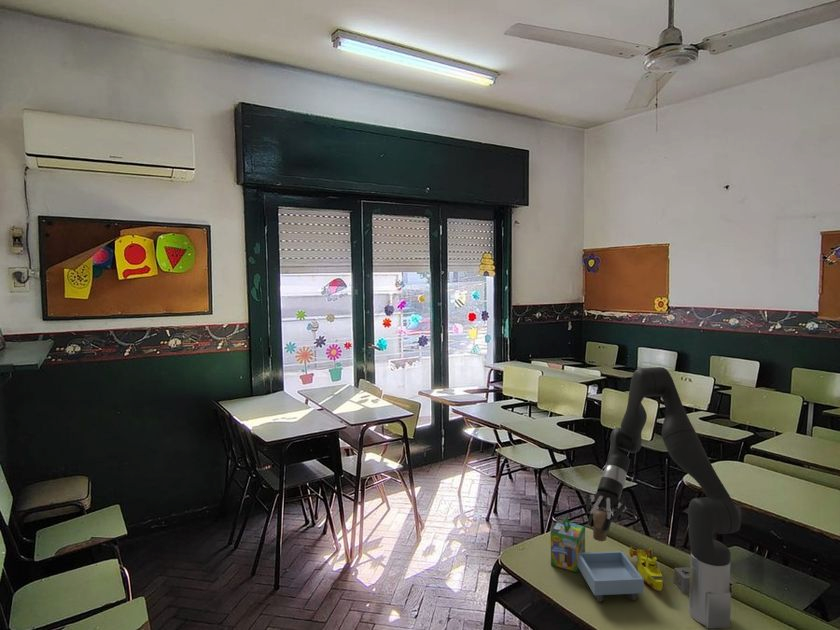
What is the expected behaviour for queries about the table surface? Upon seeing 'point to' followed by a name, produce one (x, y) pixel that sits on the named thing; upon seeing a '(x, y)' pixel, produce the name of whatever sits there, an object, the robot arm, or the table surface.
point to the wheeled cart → (610, 574)
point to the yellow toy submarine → (648, 567)
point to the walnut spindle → (599, 524)
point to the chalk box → (567, 544)
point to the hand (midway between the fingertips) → (597, 528)
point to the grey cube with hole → (682, 579)
